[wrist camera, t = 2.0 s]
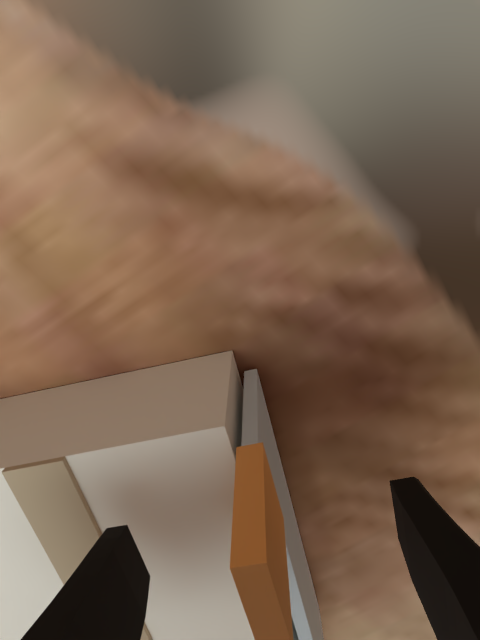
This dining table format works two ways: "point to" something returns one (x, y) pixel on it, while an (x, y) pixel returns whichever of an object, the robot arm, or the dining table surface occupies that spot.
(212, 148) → the dining table surface
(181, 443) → the carton
